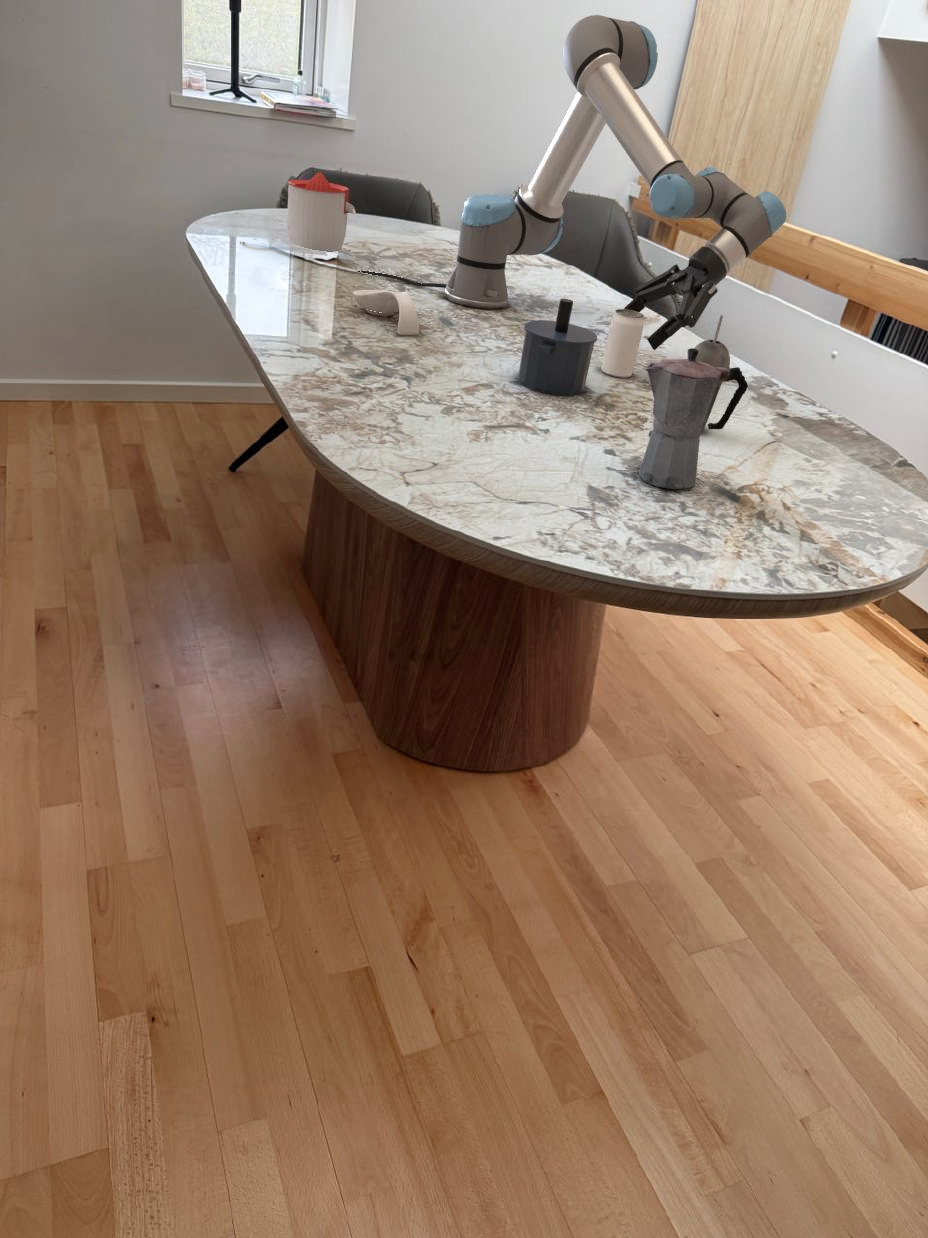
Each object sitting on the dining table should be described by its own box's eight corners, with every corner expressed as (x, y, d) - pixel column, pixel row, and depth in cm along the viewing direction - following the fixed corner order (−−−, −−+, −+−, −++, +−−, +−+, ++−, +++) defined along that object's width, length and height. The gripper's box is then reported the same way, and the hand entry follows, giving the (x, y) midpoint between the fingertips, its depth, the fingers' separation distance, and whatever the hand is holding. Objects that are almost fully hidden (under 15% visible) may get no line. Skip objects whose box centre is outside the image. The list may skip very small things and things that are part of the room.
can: (631, 380, 185) (645, 319, 179) (599, 374, 186) (612, 313, 180) (632, 371, 191) (646, 312, 184) (601, 365, 191) (614, 306, 185)
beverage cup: (713, 427, 167) (745, 314, 157) (708, 439, 161) (742, 323, 151) (673, 417, 169) (703, 305, 158) (667, 429, 163) (698, 313, 152)
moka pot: (613, 461, 146) (643, 334, 135) (706, 471, 148) (743, 346, 137) (627, 487, 137) (660, 353, 127) (725, 496, 140) (766, 366, 129)
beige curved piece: (344, 303, 205) (346, 270, 201) (393, 305, 210) (397, 272, 206) (383, 336, 187) (386, 299, 184) (435, 336, 192) (440, 301, 189)
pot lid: (512, 335, 168) (518, 297, 164) (537, 321, 179) (544, 286, 175) (583, 353, 164) (591, 315, 160) (604, 338, 175) (612, 302, 171)
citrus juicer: (348, 267, 236) (354, 181, 226) (279, 257, 235) (282, 170, 225) (355, 255, 250) (361, 174, 239) (290, 245, 248) (293, 163, 238)
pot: (503, 386, 170) (511, 334, 165) (535, 365, 185) (544, 317, 180) (567, 404, 167) (578, 351, 162) (595, 381, 181) (606, 332, 176)
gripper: (760, 290, 175) (674, 367, 178) (688, 259, 194) (611, 329, 197) (746, 259, 171) (658, 339, 173) (673, 231, 190) (594, 302, 192)
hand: (632, 334), depth 185 cm, fingers open, 13 cm apart
